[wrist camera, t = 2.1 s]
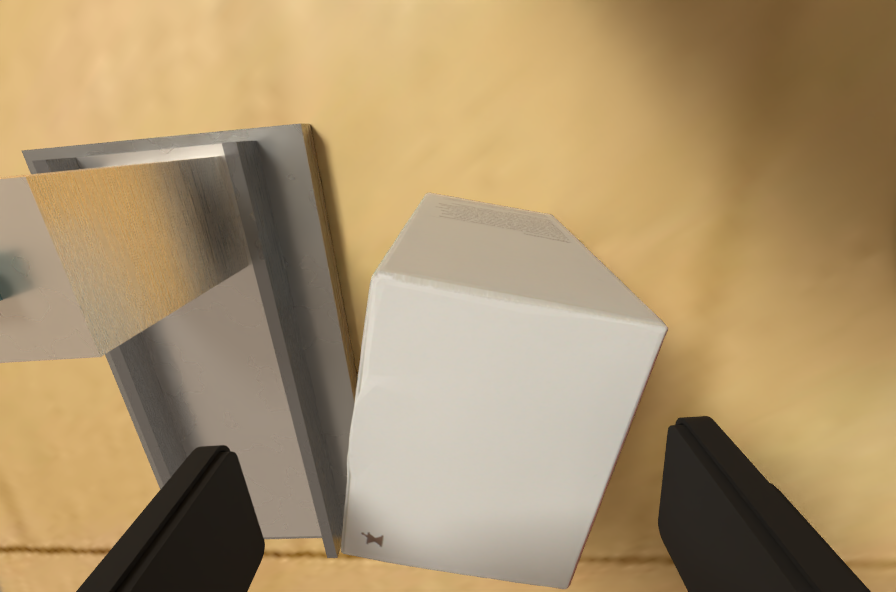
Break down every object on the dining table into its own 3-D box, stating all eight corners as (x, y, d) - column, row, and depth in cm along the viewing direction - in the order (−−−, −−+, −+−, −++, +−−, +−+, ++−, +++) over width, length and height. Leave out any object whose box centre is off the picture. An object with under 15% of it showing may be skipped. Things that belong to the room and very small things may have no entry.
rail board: (310, 124, 20) (122, 117, 9) (383, 520, 28) (330, 758, 18) (45, 149, 21) (-406, 171, 10) (192, 525, 29) (32, 754, 19)
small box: (518, 358, 24) (570, 599, 12) (403, 338, 24) (332, 561, 11) (556, 210, 21) (679, 325, 9) (425, 187, 21) (361, 270, 9)
